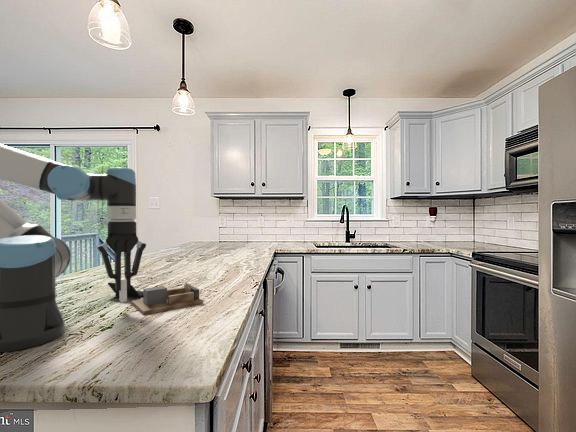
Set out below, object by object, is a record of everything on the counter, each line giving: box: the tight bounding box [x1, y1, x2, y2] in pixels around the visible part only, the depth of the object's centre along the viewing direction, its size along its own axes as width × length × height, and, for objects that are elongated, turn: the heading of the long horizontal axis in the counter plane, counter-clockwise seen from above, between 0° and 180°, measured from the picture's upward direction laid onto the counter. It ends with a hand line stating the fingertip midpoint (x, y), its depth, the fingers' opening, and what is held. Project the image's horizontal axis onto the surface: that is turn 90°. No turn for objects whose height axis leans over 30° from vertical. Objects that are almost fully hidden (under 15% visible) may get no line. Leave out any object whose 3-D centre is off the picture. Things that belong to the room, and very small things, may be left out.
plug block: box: [142, 285, 168, 306], centre depth 98 cm, size 6×4×4 cm, turn 129°
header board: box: [131, 282, 204, 316], centre depth 101 cm, size 18×14×5 cm
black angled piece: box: [107, 282, 143, 300], centre depth 110 cm, size 12×7×10 cm
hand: (123, 300), depth 93 cm, fingers closed
